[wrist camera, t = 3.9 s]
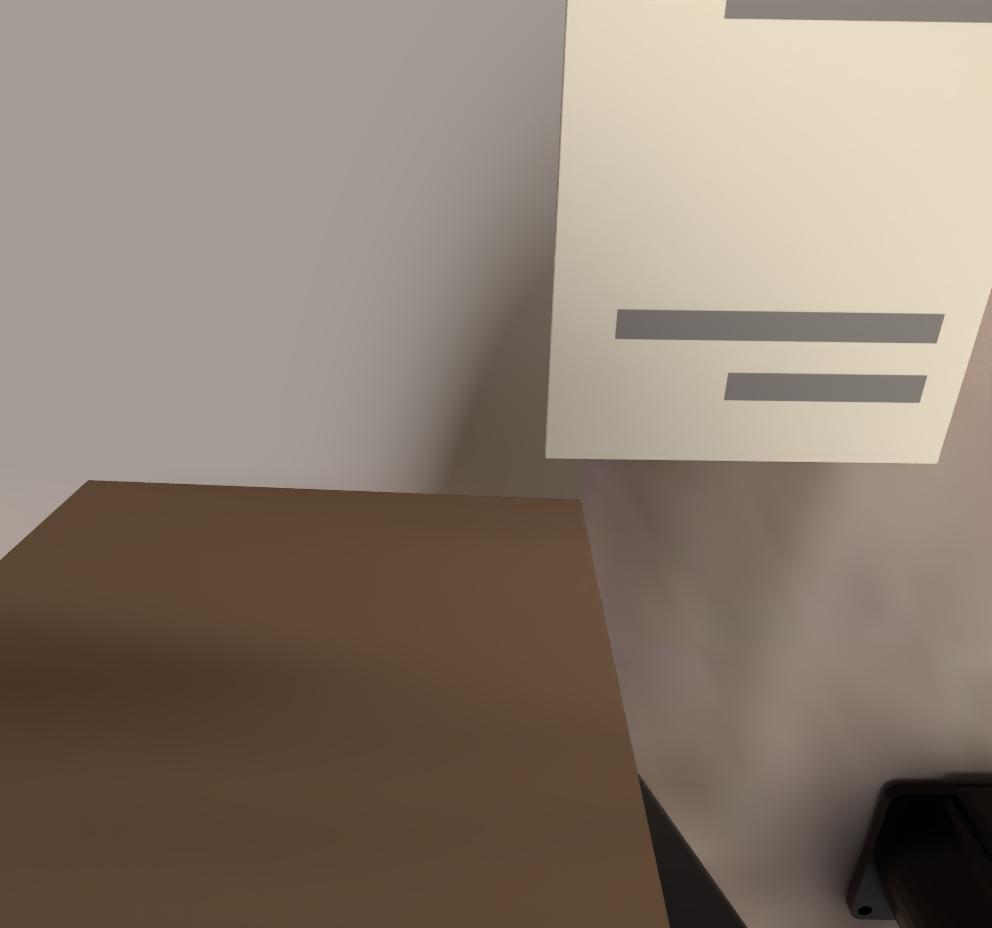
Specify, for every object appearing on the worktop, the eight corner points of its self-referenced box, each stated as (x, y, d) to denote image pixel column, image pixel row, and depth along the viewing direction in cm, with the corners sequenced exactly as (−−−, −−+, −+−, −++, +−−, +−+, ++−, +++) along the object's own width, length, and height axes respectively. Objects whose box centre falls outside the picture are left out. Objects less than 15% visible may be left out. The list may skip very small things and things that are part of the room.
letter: (928, 456, 19) (937, 463, 19) (544, 451, 19) (545, 458, 19) (1146, -261, 13) (1165, -272, 12) (579, -271, 13) (581, -282, 12)
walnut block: (544, 830, 10) (584, 1457, 5) (164, 818, 10) (-131, 1444, 5) (579, 499, 7) (703, 1089, 3) (88, 479, 7) (-547, 1056, 3)
